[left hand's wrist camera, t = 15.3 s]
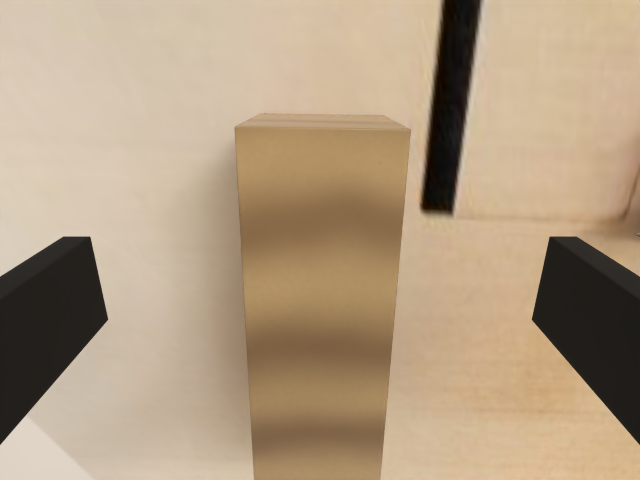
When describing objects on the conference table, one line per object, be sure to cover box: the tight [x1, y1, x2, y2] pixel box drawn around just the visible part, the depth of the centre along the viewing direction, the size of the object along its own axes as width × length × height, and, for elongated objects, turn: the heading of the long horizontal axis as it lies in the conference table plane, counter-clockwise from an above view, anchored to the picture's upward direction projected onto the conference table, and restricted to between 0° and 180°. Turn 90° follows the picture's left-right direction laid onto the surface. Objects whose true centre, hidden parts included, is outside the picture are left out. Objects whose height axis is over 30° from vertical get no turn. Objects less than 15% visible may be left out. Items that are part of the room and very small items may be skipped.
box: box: [235, 114, 411, 480], centre depth 29 cm, size 25×9×9 cm, turn 179°
